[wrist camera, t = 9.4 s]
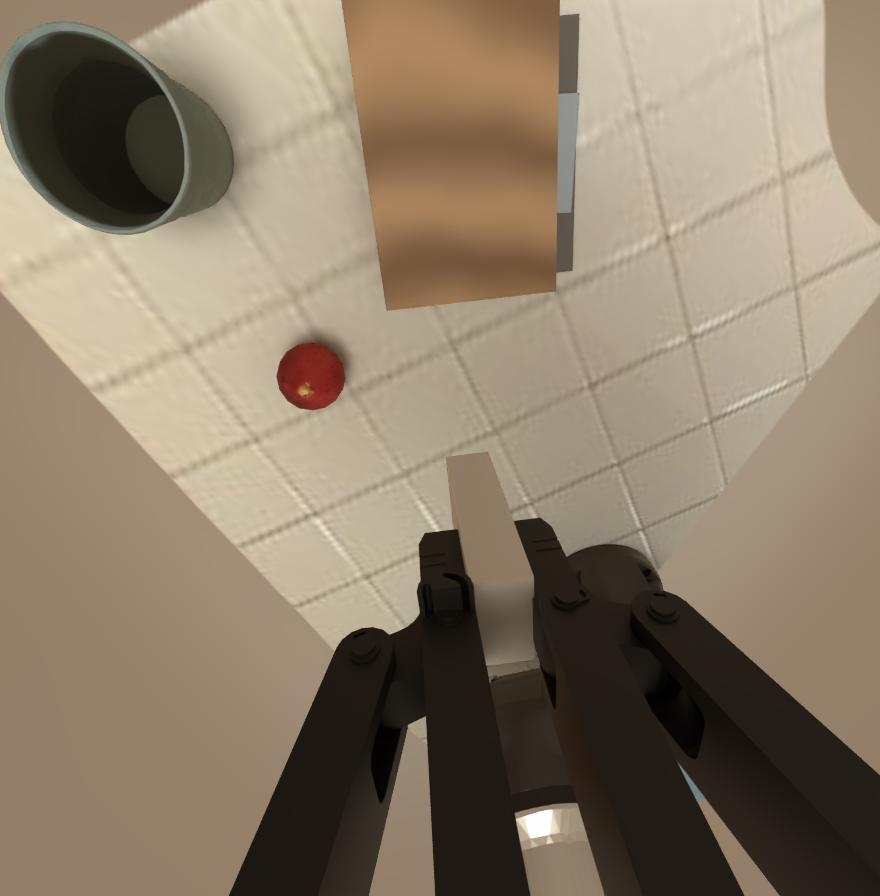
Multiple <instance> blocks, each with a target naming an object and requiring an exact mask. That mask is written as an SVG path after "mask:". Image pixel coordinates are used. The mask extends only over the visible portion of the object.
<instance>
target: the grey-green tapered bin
mask: <svg viewBox="0 0 880 896" xmlns="http://www.w3.org/2000/svg"><path fill="white" fill-rule="evenodd" d="M0 124H1V129H2V132H3V135H4V139H5V142H6V145H7V147H8V149H9V151H10V153H11V156H12V158H13V159H14V161H15V163H16V164H17V166H18V168H19V169H20V171H21V173H22V174H23V175H24V177H25V178H26V179H27V180H28V182H29V183H30V184H31V186H32V187H33V188H34V189H35V190H36V191H37V192H38V193H39V194H40V195H41V196H42V197H43V198H44V199H45V200H46V201H47V202H48V203H49V204H50V205H52V206H53V207H54V208H55V209H57V210H58V211H59V212H61V213H63V214H64V215H66V216H67V217H69V218H71V219H72V220H74V221H76V222H78V223H80V224H82V225H84V226H87V227H89V228H92V229H95V230H98V231H102V232H106V233H111V234H121V235H132V234H138V233H143V232H147V231H149V230H151V229H154V228H156V227H159V226H161V225H163V224H166V223H168V222H171V221H174V220H176V219H177V218H179V217H183V216H187V215H189V214H193V213H195V212H198V211H201V210H203V209H206V208H209V207H210V206H212V205H214V204H215V203H216V202H217V201H218V200H220V198H221V197H222V196H223V195H224V193H225V192H226V190H227V188H228V186H229V184H230V181H231V177H232V172H233V151H232V148H231V144H230V141H229V138H228V135H227V133H226V131H225V127H224V126H223V124H222V123H221V121H220V120H219V118H218V117H217V115H216V114H215V113H214V111H213V110H212V109H211V108H210V107H209V106H208V105H207V104H206V103H205V102H204V101H203V100H202V99H200V98H199V97H198V96H196V95H195V94H194V93H192V92H191V91H189V90H188V89H186V88H185V87H184V86H182V85H181V84H178V83H177V82H176V81H174V80H172V79H170V78H169V77H168V76H167V74H166V73H165V72H163V71H162V70H160V69H159V68H157V67H156V66H154V65H153V64H152V63H151V62H149V61H148V60H147V59H145V58H144V57H143V56H142V55H140V54H139V53H138V52H137V51H135V50H134V49H133V48H132V47H130V46H129V45H127V44H126V43H125V42H123V41H122V40H120V39H118V38H117V37H115V36H114V35H112V34H110V33H108V32H106V31H104V30H101V29H99V28H96V27H93V26H89V25H85V24H80V23H76V22H54V23H47V24H43V25H40V26H38V27H36V28H33V29H31V30H29V31H28V32H27V33H25V34H24V35H22V36H21V37H20V38H18V40H17V41H16V42H15V43H14V44H13V46H12V47H11V48H10V49H9V50H8V52H7V54H6V56H5V58H4V60H3V62H2V65H1V67H0Z"/></svg>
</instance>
